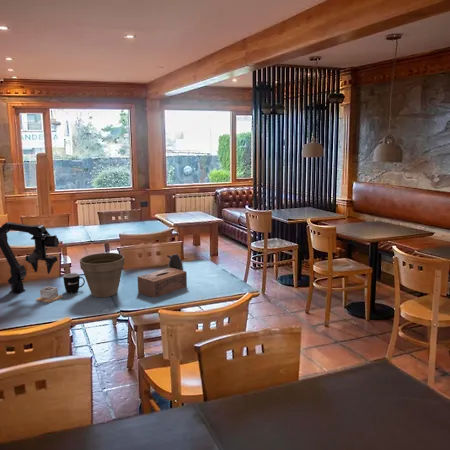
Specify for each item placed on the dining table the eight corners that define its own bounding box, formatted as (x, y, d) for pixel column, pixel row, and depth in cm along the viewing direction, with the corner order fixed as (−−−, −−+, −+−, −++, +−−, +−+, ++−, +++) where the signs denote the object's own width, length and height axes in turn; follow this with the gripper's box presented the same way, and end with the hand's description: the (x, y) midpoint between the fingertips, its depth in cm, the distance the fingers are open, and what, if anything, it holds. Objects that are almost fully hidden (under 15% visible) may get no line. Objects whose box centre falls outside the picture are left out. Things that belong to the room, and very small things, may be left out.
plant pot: (85, 303, 267) (83, 265, 263) (78, 290, 289) (76, 255, 285) (130, 296, 278) (128, 260, 274) (120, 285, 299) (118, 250, 295)
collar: (40, 298, 273) (40, 289, 272) (48, 294, 279) (48, 286, 278) (50, 299, 271) (49, 291, 270) (58, 295, 277) (57, 287, 276)
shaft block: (36, 300, 272) (35, 290, 271) (48, 295, 281) (47, 285, 280) (50, 302, 269) (50, 292, 268) (62, 297, 278) (62, 287, 277)
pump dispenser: (168, 274, 322) (168, 252, 319) (184, 274, 321) (183, 252, 318) (166, 279, 311) (165, 255, 309) (182, 279, 311) (181, 256, 308)
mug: (65, 295, 281) (64, 278, 280) (63, 290, 289) (62, 274, 287) (86, 291, 287) (85, 275, 285) (83, 287, 295) (82, 271, 293)
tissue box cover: (170, 282, 304) (170, 267, 302) (186, 287, 295) (186, 271, 293) (138, 293, 285) (137, 276, 283) (154, 298, 276) (153, 281, 274)
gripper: (17, 248, 277) (19, 275, 280) (43, 251, 270) (45, 278, 273) (31, 244, 287) (33, 270, 290) (57, 246, 281) (58, 272, 284)
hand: (42, 272), depth 284 cm, fingers open, 9 cm apart
